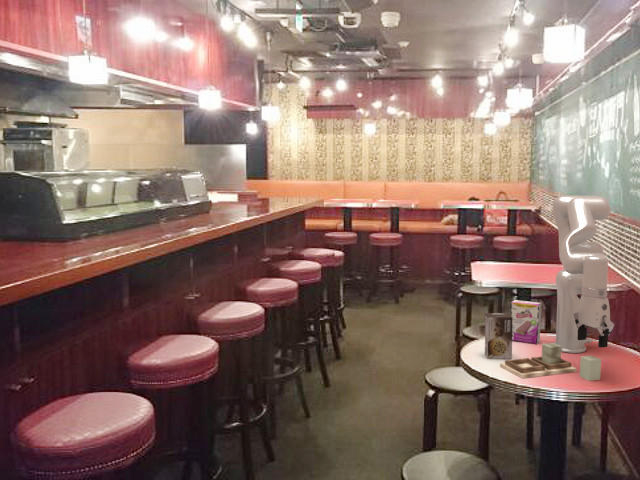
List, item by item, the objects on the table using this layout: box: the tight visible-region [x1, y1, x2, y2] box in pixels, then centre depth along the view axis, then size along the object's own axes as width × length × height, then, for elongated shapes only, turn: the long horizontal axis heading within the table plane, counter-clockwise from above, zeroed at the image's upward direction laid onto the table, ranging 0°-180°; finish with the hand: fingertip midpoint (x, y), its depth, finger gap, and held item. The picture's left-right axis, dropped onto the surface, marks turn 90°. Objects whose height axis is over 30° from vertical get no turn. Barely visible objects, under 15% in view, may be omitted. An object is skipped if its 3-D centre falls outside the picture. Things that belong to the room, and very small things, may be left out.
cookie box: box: [484, 312, 513, 360], centre depth 230 cm, size 9×6×16 cm
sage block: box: [579, 354, 602, 382], centre depth 206 cm, size 4×4×7 cm
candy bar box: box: [510, 299, 542, 345], centre depth 249 cm, size 11×5×16 cm, turn 59°
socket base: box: [499, 342, 578, 379], centre depth 215 cm, size 22×13×8 cm, turn 107°
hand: (592, 343), depth 205 cm, fingers open, 9 cm apart
